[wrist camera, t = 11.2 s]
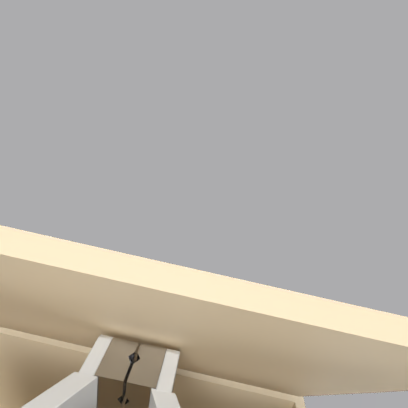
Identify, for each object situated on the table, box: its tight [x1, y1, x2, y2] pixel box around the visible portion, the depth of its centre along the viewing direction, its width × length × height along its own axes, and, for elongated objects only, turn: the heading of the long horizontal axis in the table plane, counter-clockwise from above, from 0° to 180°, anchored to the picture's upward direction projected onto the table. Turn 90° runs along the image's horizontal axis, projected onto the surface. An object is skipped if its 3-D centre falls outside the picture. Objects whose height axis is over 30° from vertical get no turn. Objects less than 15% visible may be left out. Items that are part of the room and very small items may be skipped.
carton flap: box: [0, 225, 408, 397], centre depth 12 cm, size 14×21×1 cm
